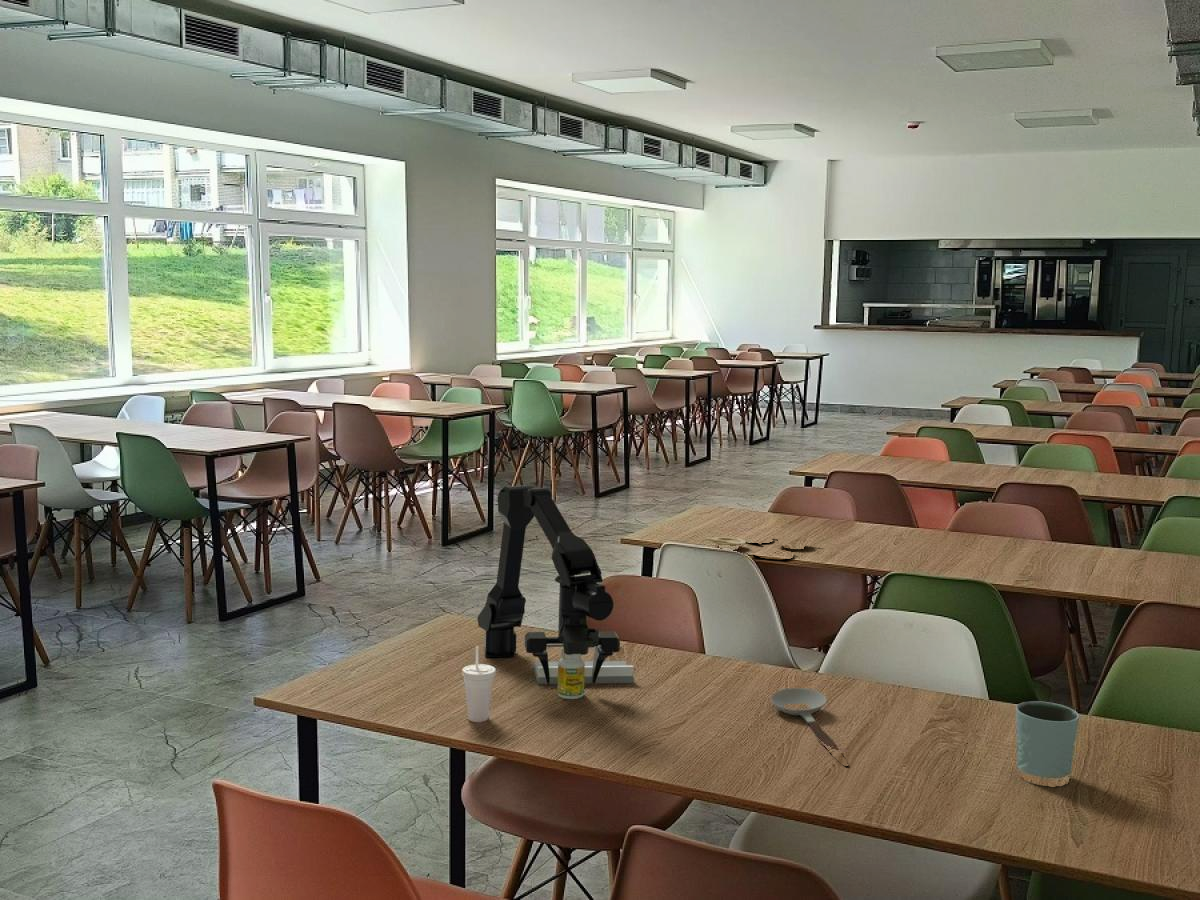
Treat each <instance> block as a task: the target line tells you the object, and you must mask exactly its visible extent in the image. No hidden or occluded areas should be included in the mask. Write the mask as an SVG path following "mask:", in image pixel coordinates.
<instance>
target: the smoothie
mask: <svg viewBox="0 0 1200 900" xmlns="http://www.w3.org/2000/svg"><path fill="white" fill-rule="evenodd" d="M479 647H480V646H479V645H476V646H475V664H469V665H466V666H464V667H463V668H462V669H461V670H462V673H461V676H463V681H464V684H463V685H464V690H465V691H464V693H465V701H466V711H467V718H468V721H470V722H473V723H482V722H486V721H487V720H488V719H489V714H490V706H491V699H492V692H493V687H494V686H493V685H494V678H495V676H497V673H496V672H497V670H496V668H495V667H494V666H492V665H490V664H484V663H479V658H480V657H479V653H480V650H479V649H480V648H479Z"/></svg>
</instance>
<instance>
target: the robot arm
mask: <svg viewBox="0 0 1200 900" xmlns="http://www.w3.org/2000/svg"><path fill="white" fill-rule="evenodd" d="M552 494H553V493H552V492H551V490H550V489H549V488H546V487H534V486H532V485H531V484H525V485H524V484H523V485H513V486H512V485H511V486H510V485H509V486H503V487H502V488H501V489H499V492H498V495H497V512H498V514H499V515H500V518H501V520H502V522H503V525H502V526H503V527H502V536H501V544H500V552H499V560H498V568H497V576H496V577H497V578H496V582H495V585H494V586H493V587H492V588H491V590H490V591H489V592H488V594H487V597H486V600H485V601H486V602H485V605H484V607H483V608H482V609H481V611H480V613H479V614H478V615H477V618H476V619H477V625H478V627H479V628H480V629H482V630H484V631H485V632H484V633H485V634H484V635H485V636H484V647H483V652H484V657H485V658H515V653H516V652H517V632H516V631H515V628H521V627H522V622H523V619H524V615H525V610H526V608H525V606H526V602H527V600H526V597H525V596H523V594H522V592H521V589H520V587H519V584H520V578H521V570H522V563H523V555H524V547H525V546H524V545H525V540H526V539H525V538H526V531H527V527H528V525H529V524H530V523H531V522H532V520H533V519H534V518H535V519H536V521H537V523H538V524H539V526H540V528H541V530H542V532H543V533H544V535H545V537H546V538H547V541H548V542H549V543H550V546H551V548H552V551H551V560H552V563H553V565H554V568H555V570H556V572H557V574H558V575H557V576H556V577H555V578H554V581H555V582H556V583H558V584H559V594H558V595H559V598H558V600H559V601H558V626H557V627H558V630H557V631H558V632H557V633H558V634H557V636H546V633H545V631H528V632H526V633H525V636H524V647H525V650H526V651H525V652H526V653H528V654H532V657H535V658H538V659H539V662H541V664H542V667H543V670H544V673H545V677H546V681H547V684H546V685H550V684H549V683H550V675H549V665H548V662H549V654H548V651H547V650H548V649H547V648H548V647H550V648H553V647H555V648H556V647H560V648H561V647H562V649H563V648H564V653H565V654H567V655H572V654H581V656H583V655H584V656H585V655H587V654H588V653H589V648H594V653H593V654H594V655H593V660H592V661H593V670H592V683H591V684H596V683H595V681H596V679H597V676H598V674H599V671H600V668H601V666H602V664H603V662H604V661H606V659H608V657H612V656H613V655H614V653H619V652H620V649H621V639H620V638H619V636H618V634H617V633H616V632H615V631H608V630H607V631H600V630H599V628H598V627H597V628H594V627H593V628H590V627H589V626H588V618H591V619H592V620H595V621H598V622H599V621H604V620H605V619H607V618H609V616H610V615H611V613H612V612H613V609H614V600H613V597H612V596H611V594H610V593H608V592H607V591H606V586H605V584H602V583H603V581H604V580H603V577H602V573H603V572H602V570H601V569H600V566H599V564H598V562H597V558H596V555H595V553H594V551H593V549H592V548H591V547H590V546H589V544H588V543H587V541H586V540H584V538H581V537H579V536H577V535H575V534H574V532H573V531H572V529H571V528H570V526H569V525H568V523H567V521H566V520H565V518H564V516H563V514H562V513H561V512H560V509H559V508H558V506H557V504H556V503H555V501H554V499H553V495H552Z"/></svg>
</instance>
